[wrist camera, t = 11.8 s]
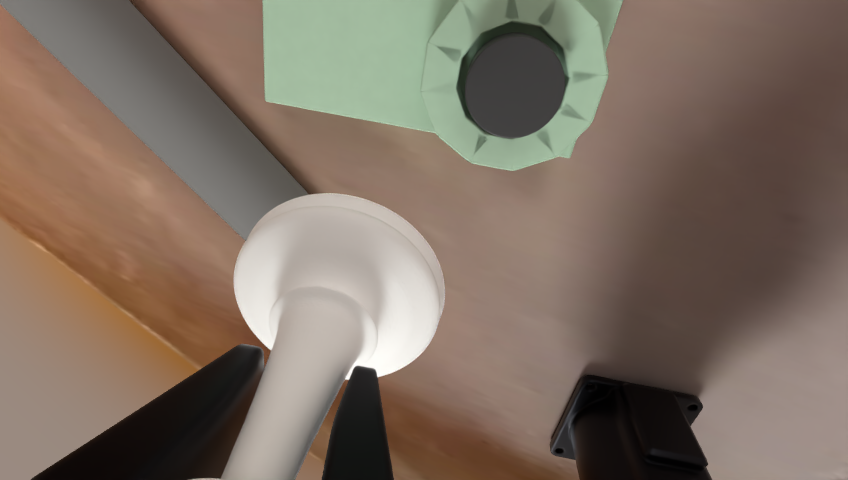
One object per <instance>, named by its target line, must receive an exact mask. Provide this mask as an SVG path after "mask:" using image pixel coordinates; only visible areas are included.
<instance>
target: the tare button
mask: <svg viewBox="0 0 848 480" xmlns="http://www.w3.org/2000/svg"><path fill="white" fill-rule="evenodd" d="M564 91H565V75H564V70H563V67H562V64H561V62H560V60H559V58H558V57H557V55H556V54H555V52H554V51H553V50H552V49H551V48H550V47H549V46H548V45H546V44H545V43H544V42H542V41H541V40H539V39H538V38H536V37H534V36H532V35H529V34H525V33H519V32H511V33H505V34H502V35H499V36H496V37H494V38H492V39H491V40H489V41H488V42H486V43H485V44H484V45H483V46H482V47H481V48H480V49H479V50H478V51H477V53H476V54H475V55H474V57H473V59H472V61H471V63H470V65H469V68H468V72H467V76H466V83H465V100H466V104H467V107H468V110H469V112H470V114H471V116H472V118H473V119H474V120H475V122H476V123H477V124H478V125H479V126H480V127H481V128H482V129H484V130H485V131H487V132H488V133H490V134H492V135H495V136H498V137H502V138H520V137H524V136H528V135H530V134H533V133H535V132H536V131H538V130H540V129H541V128H543V127H544V126H545V125H546V124H547V123H548V122H549V121H550V120H551V119H552V118H553V117H554V115H555V114H556V112H557V111H558V109H559V107H560V105H561V102H562V100H563V96H564Z"/></svg>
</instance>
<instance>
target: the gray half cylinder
mask: <svg viewBox="0 0 848 480" xmlns="http://www.w3.org/2000/svg"><path fill="white" fill-rule="evenodd" d="M0 4H1V5H2V6H3V7H4V8H5V9H6V10H7V11H8V12H9V13H10V14H11V15H12V16H13V17H14V18H15V19H16V20H17V21H18V22H19V23H20V24H21V25H22V26H23V27H24V28H26V29H27V30H28V31H29V32H30V33H31V34H32V35H33V36H34V37H35V38H36V39H37V40H38V41H39V42H40V43H41V44H42V45H43V46H44V47H45V48H46V49H47V50H48V51H49V52H50V53H51V54H52V55H53V56H55V57H56V58H57V59H58V60H59V61H60V62H61V63H62V64H63V65H64V66H65V67H66V68H67V69H68V70H69V71H70V72H71V73H72V74H73V75H74V76H75V77H76V78H77V79H78V80H79V81H80V82H81V83H82V84H84V85H85V86H86V87H87V88H88V89H89V90H90V91H91V92H92V93H93V94H94V95H95V96H96V97H97V98H98V99H99V100H100V101H101V102H102V103H103V104H104V105H105V106H106V107H107V108H108V109H109V110H110V111H112V112H113V113H114V114H115V115H116V116H117V117H118V118H119V119H120V120H121V121H122V122H123V123H124V124H125V125H126V126H127V127H128V128H129V129H130V130H131V131H132V132H133V133H134V134H135V135H136V136H137V137H138V138H139V139H141V140H142V141H143V142H144V143H145V144H146V145H147V146H148V147H149V148H150V149H151V150H152V151H153V152H154V153H155V154H156V155H157V156H158V157H159V158H160V159H161V160H162V161H163V162H164V163H165V164H166V165H167V166H168V167H170V168H171V169H172V170H173V171H174V172H175V173H176V174H177V175H178V176H179V177H180V178H181V179H182V180H183V181H184V182H185V183H186V184H187V185H188V186H189V187H190V188H191V189H192V190H193V191H194V192H195V193H196V194H198V195H199V196H200V197H201V198H202V199H203V200H204V201H205V202H206V203H207V204H208V205H209V206H210V207H211V208H212V209H213V210H214V211H215V212H216V213H217V214H218V215H219V216H220V217H221V218H222V219H223V220H224V221H225V222H227V223H228V224H229V225H230V226H231V227H232V228H233V229H234V230H235V231H236V232H237V233H238V234H239V235H240V236H241V237H242V238H243V239H244V240H245V241H246V240H247V238H248V236H249V234H250V232H251V231H252V229H253V228H254V226H255V225H256V224H257V222H258V221H259V220H260V219H261V218H262V217H263V216H264V215H265V214H267V213H268V212H269V211H270V210H272V209H273V208H275V207H277V206H278V205H280V204H282V203H284V202H286V201H289V200H291V199H294V198H298V197H301V196H306V195H309V194H308V193H307V192H306V191H305V190H304V189H303V188H302V186H301V185H300V184H299V183H298V182H297V181H296V180H295V179H294V178H293V177H292V176H291V175H290V174H289V172H288V171H287V170H286V169H285V168H284V167H283V166H282V165H281V164H280V163H279V162H278V161H277V160H276V158H275V157H274V156H273V155H272V154H271V153H270V152H269V151H268V150H267V149H266V148H265V147H264V146H263V144H262V143H261V142H260V141H259V140H258V139H257V138H256V137H255V136H254V135H253V134H252V133H251V131H250V130H249V129H248V128H247V127H246V126H245V125H244V124H243V123H242V122H241V121H240V120H239V119H238V117H237V116H236V115H235V114H234V113H233V112H232V111H231V110H230V109H229V108H228V107H227V106H226V105H225V103H224V102H223V101H222V100H221V99H220V98H219V97H218V96H217V95H216V94H215V93H214V92H213V91H212V89H211V88H210V87H209V86H208V85H207V84H206V83H205V82H204V81H203V80H202V79H201V78H200V77H199V75H198V74H197V73H196V72H195V71H194V70H193V69H192V68H191V67H190V66H189V65H188V64H187V63H186V61H185V60H184V59H183V58H182V57H181V56H180V55H179V54H178V53H177V52H176V51H175V50H174V49H173V47H172V46H171V45H170V44H169V43H168V42H167V41H166V40H165V39H164V38H163V37H162V36H161V35H160V33H159V32H158V31H157V30H156V29H155V28H154V27H153V26H152V25H151V24H150V23H149V22H148V21H147V19H146V18H145V17H144V16H143V15H142V14H141V13H140V12H139V11H138V10H137V9H136V8H135V7H134V5H133V4H132V3H131V2H130V1H129V0H0Z"/></svg>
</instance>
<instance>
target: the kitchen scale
mask: <svg viewBox="0 0 848 480" xmlns="http://www.w3.org/2000/svg"><path fill="white" fill-rule="evenodd" d="M622 2H623V0H263V40H264V83H265V101H267V102H272V103H277V104H283V105H288V106H293V107H299V108H304V109H309V110H315V111H320V112H325V113H331V114H336V115H341V116H347V117H352V118H357V119H362V120H368V121H373V122H378V123H384V124H389V125H394V126H400V127H405V128H410V129H416V130H421V131H426V132H432V133H435V134H437V135H438V137H439V138H441V139H442V140H443V141H444V142H445V143H446V144H448V145H449V146H450V147H451V148H452V149H454V150H455V151H456V152H457V153H458V154H460V155H461V156H462V157H463V158H464V159H465V160H467V161H468V162H470V163H472V164H477V165H482V166H488V167H493V168H498V169H504V170H509V171H512V170H513V171H515V170H518V169H521V168H525V167H528V166H531V165H534V164H537V163H541V162H544V161H547V160H550V159H553V158H555V157H558V156H559V157H565V158H570V157H571V154H572V151H573V148H574V145H575V142H576V139H577V138H578V137H579V136H580V135H581V134H582V133H583V132H584V131H585V130H586V129H587V128H588V127H589V126H590V125H591V123H592V122H593V119H594V116H595V114H596V111H597V108H598V105H599V102H600V99H601V96H602V94H603V91H604V88H605V85H606V82H607V79H608V66H607V60H606V55H605V53H606V50H607V47H608V44H609V41H610V38H611V35H612V32H613V29H614V26H615V23H616V20H617V17H618V14H619V11H620V8H621V5H622ZM511 32H519V33H525V34H529V35H532V36H534V37H536V38H538V39H539V40H541V41H542V42H544V43H545V44H546V45H548V46H549V47H550V48H551V49H552V50H553V51H554V52H555V54H556V55H557V57H558V58H559V60H560V62H561V64H562V67H563V70H564V75H565V91H564V96H563V100H562V102H561V105H560V107H559V109H558V111H557V112H556V114H555V115H554V117H553V118H552V119H551V120H550V121H549V122H548V123H547V124H546V125H545V126H544V127H543V128H541V129H540V130H538V131H536V132H535V133H533V134H530V135H528V136H524V137H520V138H502V137H498V136H495V135H492V134H490V133H488V132H487V131H485V130H484V129H482V128H481V127H480V126H479V125H478V124H477V123H476V122H475V120H474V119H473V118H472V116H471V114H470V112H469V110H468V107H467V104H466V100H465V83H466V76H467V72H468V68H469V65H470V63H471V61H472V59H473V57H474V55H475V54H476V53H477V51H478V50H479V49H480V48H481V47H482V46H483V45H484V44H485V43H486V42H488V41H489V40H491V39H492V38H494V37H496V36H499V35H502V34H505V33H511Z"/></svg>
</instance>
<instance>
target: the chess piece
mask: <svg viewBox="0 0 848 480" xmlns="http://www.w3.org/2000/svg"><path fill="white" fill-rule="evenodd" d="M234 290H235V296H236V300H237V303H238V306H239V309H240V311H241V313H242V316H243V317H244V319H245V321H246V323H247V324H248V326H249V327H250V329H251V330H252V331H253V333H254V334H255V335H256V336H257V337H258V339H259V340H260V341H261V342H262V343H263V344H264V345H265V346H267V347H268V348H269V349H270V350H271V353H270V356H269V358H268V361H267V364H266V366H265V369H264V372H263V374H262V377H261V380H260V382H259V385H258V388H257V390H256V393H255V396H254V398H253V401H252V403H251V406H250V408H249V411H248V414H247V416H246V419H245V421H244V424H243V426H242V429H241V431H240V433H239V435H238V438H237V440H236V442H235V445H234V447H233V450H232V452H231V454H230V457H229V459H228V462H227V464H226V467H225V469H224V472H223V474H222V476H221V479H217V478H198V479H190V480H295V479H296V476H297V474H298V472H299V470H300V468H301V466H302V464H303V462H304V459H305V457H306V455H307V453H308V451H309V448H310V446H311V444H312V442H313V440H314V438H315V436H316V435H317V433H318V431H319V429H320V427H321V425H322V423H323V421H324V419H325V417H326V415H327V413H328V411H329V409H330V407H331V405H332V403H333V401H334V399H335V397H336V395H337V393H338V391H339V389H340V388H341V386H342V384H343V382H344V380H345V379H348V380H349V379H350V376H351V374H352V371H353V369H354V367H355V366H364V367H369V368H374V369H375V370H376V372H377V377H380V376H383V375H387V374H389V373H392V372H395V371H397V370H399V369H401V368H403V367H405V366H406V365H408V364H409V363H411V362H412V361H413V360H415V359H416V358H417V357H418V356H419V355H420V354H421V353H422V352H423V351H424V350H425V349H426V347H427V346H428V345H429V343H430V342H431V340H432V338H433V336H434V334H435V332H436V329H437V326H438V322H439V319H440V317H441V314H442V311H443V307H444V301H445V283H444V277H443V273H442V270H441V267H440V264H439V262H438V259H437V257H436V255H435V253H434V252H433V250H432V248H431V247H430V245H429V244H428V242H427V241H426V240H425V238H424V237H423V236H422V235H421V234H420V233H419V232H418V231H417V230H416V229H415V228H414V227H413V226H412V225H411V224H410V223H409V222H407V221H406V220H405V219H403V218H402V217H401V216H399V215H398V214H396V213H395V212H393V211H391V210H389V209H387V208H386V207H384V206H382V205H379V204H377V203H375V202H372V201H369V200H366V199H363V198H359V197H355V196H351V195H345V194H333V193H321V194H311V195H306V196H301V197H298V198H294V199H291V200H289V201H286V202H284V203H282V204H280V205H278V206H277V207H275V208H273V209H272V210H270V211H269V212H268V213H267V214H265V215H264V216H263V217H262V218H261V219H260V220H259V221H258V222H257V224H256V225H255V226H254V228H253V229H252V231H251V232H250V234H249V236H248V238H247V240H246V242H245V243H244V245H243V246H242V248H241V250H240V252H239V255H238V257H237V260H236V264H235V269H234Z"/></svg>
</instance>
